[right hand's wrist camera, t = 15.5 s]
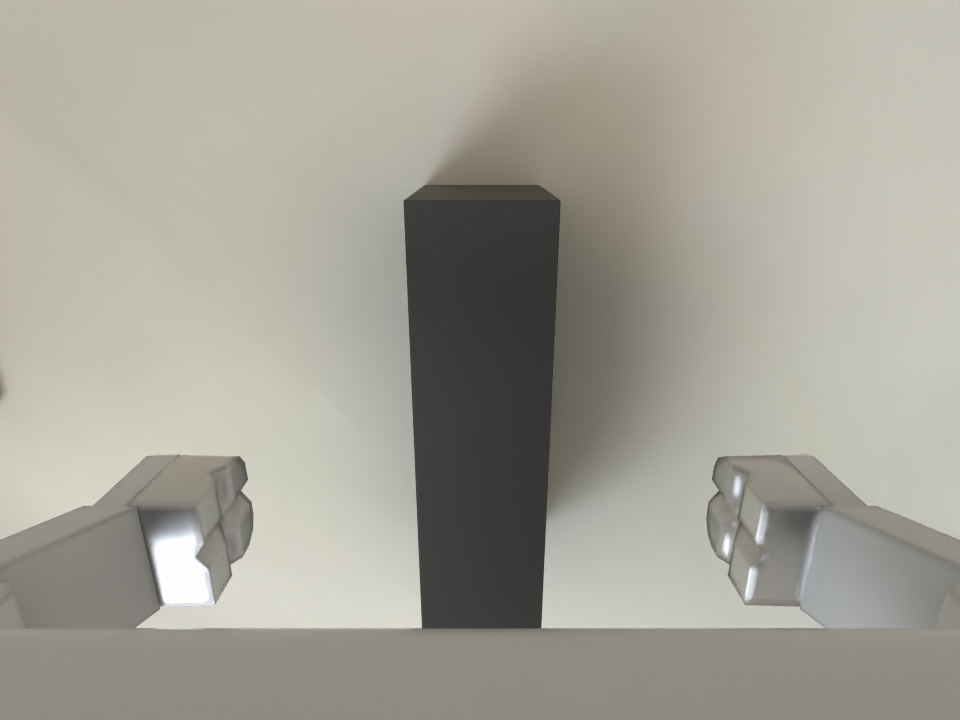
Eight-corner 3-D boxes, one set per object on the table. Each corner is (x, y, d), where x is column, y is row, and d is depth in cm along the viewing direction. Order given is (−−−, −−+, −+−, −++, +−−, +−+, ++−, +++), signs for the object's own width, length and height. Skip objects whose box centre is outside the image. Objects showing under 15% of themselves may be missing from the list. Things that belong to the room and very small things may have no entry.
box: (424, 185, 32) (403, 200, 24) (539, 185, 32) (560, 200, 24) (435, 532, 40) (422, 637, 32) (528, 532, 40) (540, 637, 32)
